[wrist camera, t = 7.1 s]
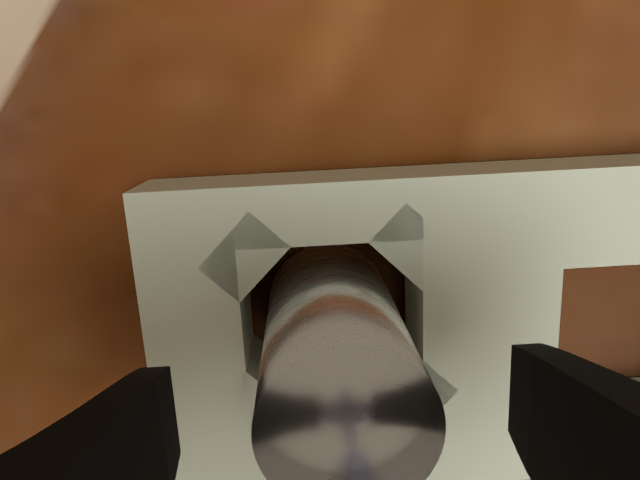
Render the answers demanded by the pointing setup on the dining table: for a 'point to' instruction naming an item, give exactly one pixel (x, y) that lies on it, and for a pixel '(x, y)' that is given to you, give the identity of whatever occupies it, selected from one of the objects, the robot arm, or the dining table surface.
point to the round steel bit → (341, 377)
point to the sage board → (400, 250)
